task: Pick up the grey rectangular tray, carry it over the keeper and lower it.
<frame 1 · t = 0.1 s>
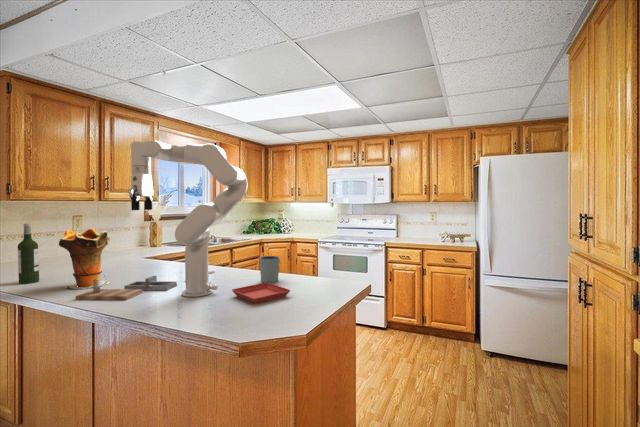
hand: (142, 209, 146), 37 cm above the table, tool pointing down, fingers open, 9 cm apart
drinking glass: (270, 281, 168), on the table
plant saucer: (261, 297, 140), on the table
grey rectangular tray: (151, 287, 156), on the table
keeper: (110, 296, 143), on the table
adjustable wrench: (198, 277, 181), on the table
decorative vase: (87, 285, 163), on the table
wine bottle: (29, 282, 171), on the table
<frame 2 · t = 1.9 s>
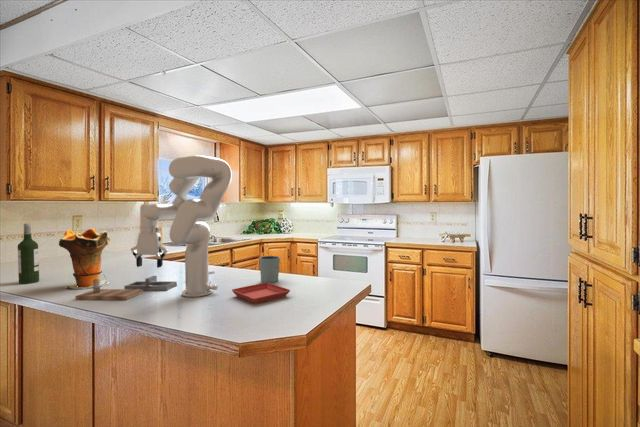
hand: (149, 266, 156), 10 cm above the table, tool pointing down, fingers open, 9 cm apart
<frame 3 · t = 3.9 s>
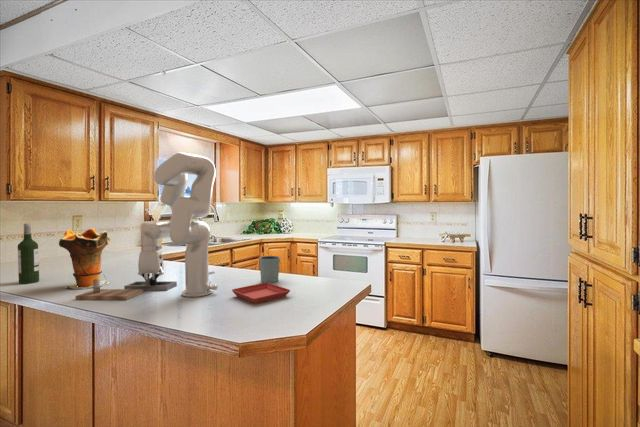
hand: (151, 287, 156), 0 cm above the table, tool pointing down, fingers closed on grey rectangular tray
grey rectangular tray: (151, 287, 156), on the table, touching gripper
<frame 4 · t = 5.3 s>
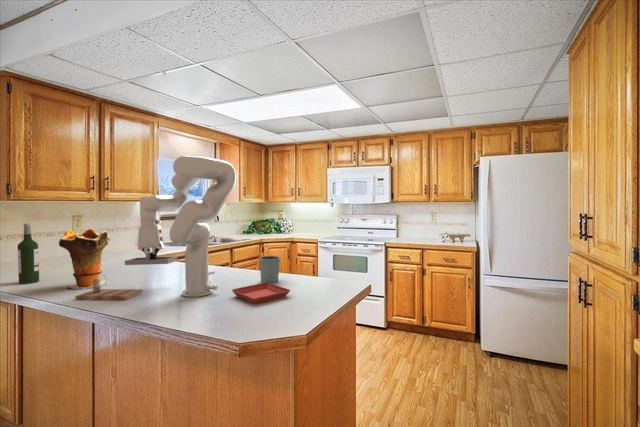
hand: (151, 262, 156), 12 cm above the table, tool pointing down, fingers closed on grey rectangular tray
grey rectangular tray: (151, 262, 156), point 12 cm above the table, touching gripper
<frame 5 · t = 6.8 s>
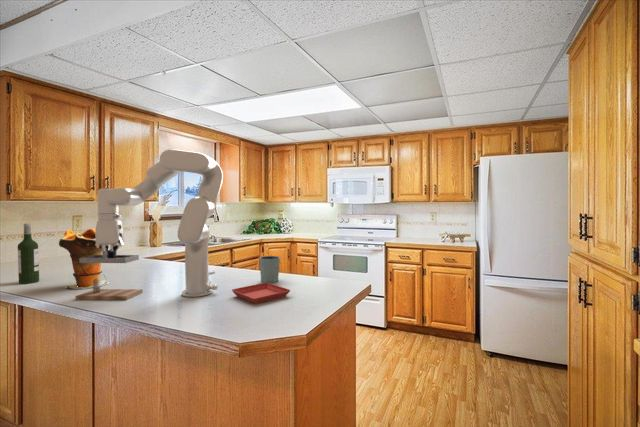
hand: (109, 260, 143), 15 cm above the table, tool pointing down, fingers closed on grey rectangular tray
grey rectangular tray: (109, 261, 143), point 15 cm above the table, touching gripper
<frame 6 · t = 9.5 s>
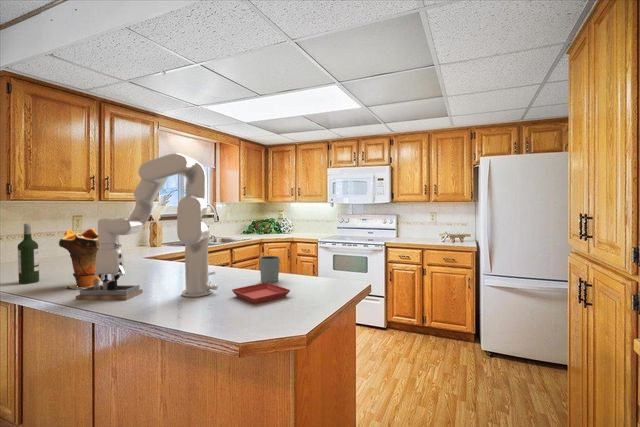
hand: (110, 289, 143), 3 cm above the table, tool pointing down, fingers closed
grey rectangular tray: (110, 292, 143), point 1 cm above the table, touching keeper
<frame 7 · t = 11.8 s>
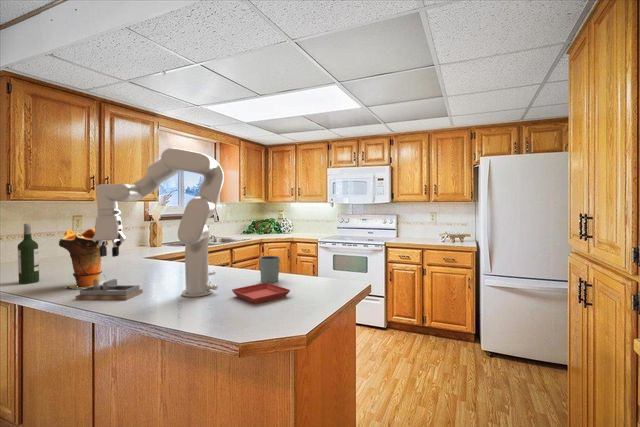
hand: (109, 255, 143), 17 cm above the table, tool pointing down, fingers open, 4 cm apart
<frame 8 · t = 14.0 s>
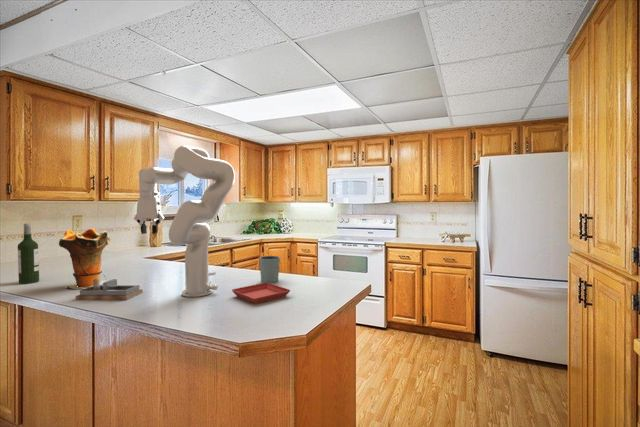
hand: (149, 233, 159), 25 cm above the table, tool pointing down, fingers open, 4 cm apart
at the end: grey rectangular tray 0.1 cm off-centre on the keeper, point 1.5 cm above the keeper's base; the gripper is holding nothing; grey rectangular tray tilted 0° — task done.
